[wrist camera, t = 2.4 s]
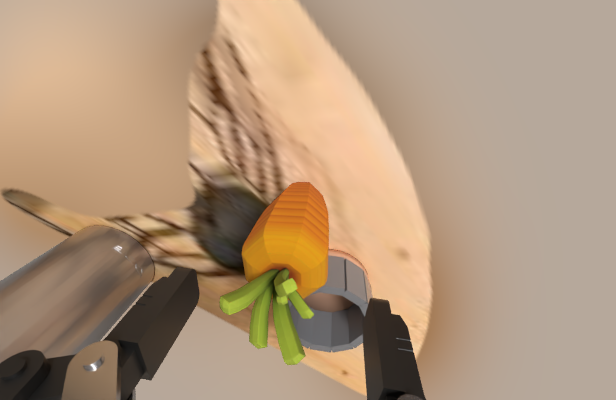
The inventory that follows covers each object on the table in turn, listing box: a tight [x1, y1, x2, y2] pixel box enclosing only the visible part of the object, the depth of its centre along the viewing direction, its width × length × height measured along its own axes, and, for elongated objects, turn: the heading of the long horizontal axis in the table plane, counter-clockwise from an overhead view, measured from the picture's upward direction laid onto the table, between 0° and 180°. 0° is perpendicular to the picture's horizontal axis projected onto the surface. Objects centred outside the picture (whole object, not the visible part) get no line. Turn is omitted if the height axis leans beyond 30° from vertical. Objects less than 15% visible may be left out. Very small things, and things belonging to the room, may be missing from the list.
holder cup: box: [288, 249, 373, 352], centre depth 26 cm, size 9×9×5 cm
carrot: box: [219, 182, 329, 365], centre depth 16 cm, size 5×5×15 cm
